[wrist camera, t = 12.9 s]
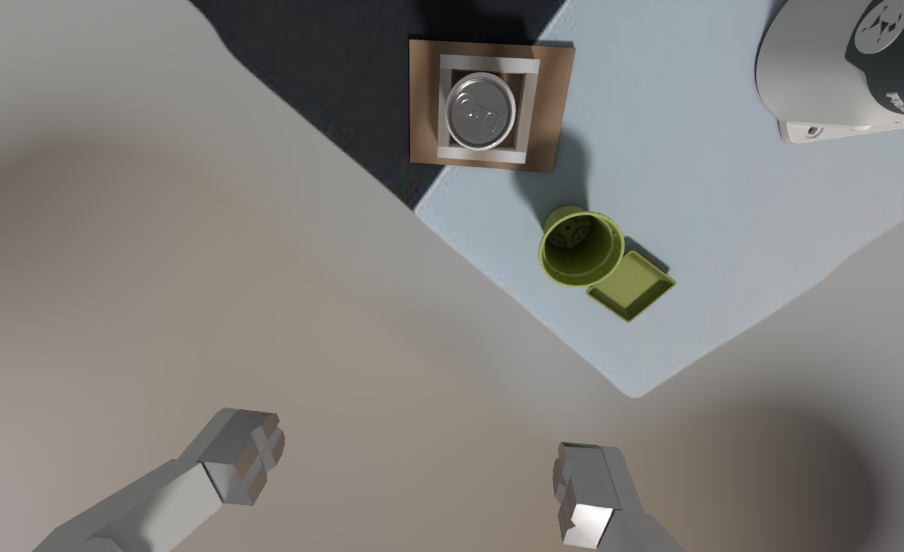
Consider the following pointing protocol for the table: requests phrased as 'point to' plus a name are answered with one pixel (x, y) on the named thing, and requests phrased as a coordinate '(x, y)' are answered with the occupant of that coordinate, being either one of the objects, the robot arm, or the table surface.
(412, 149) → the socket board
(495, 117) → the can
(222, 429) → the robot arm
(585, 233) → the plant pot
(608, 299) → the saucer
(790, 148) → the table surface
